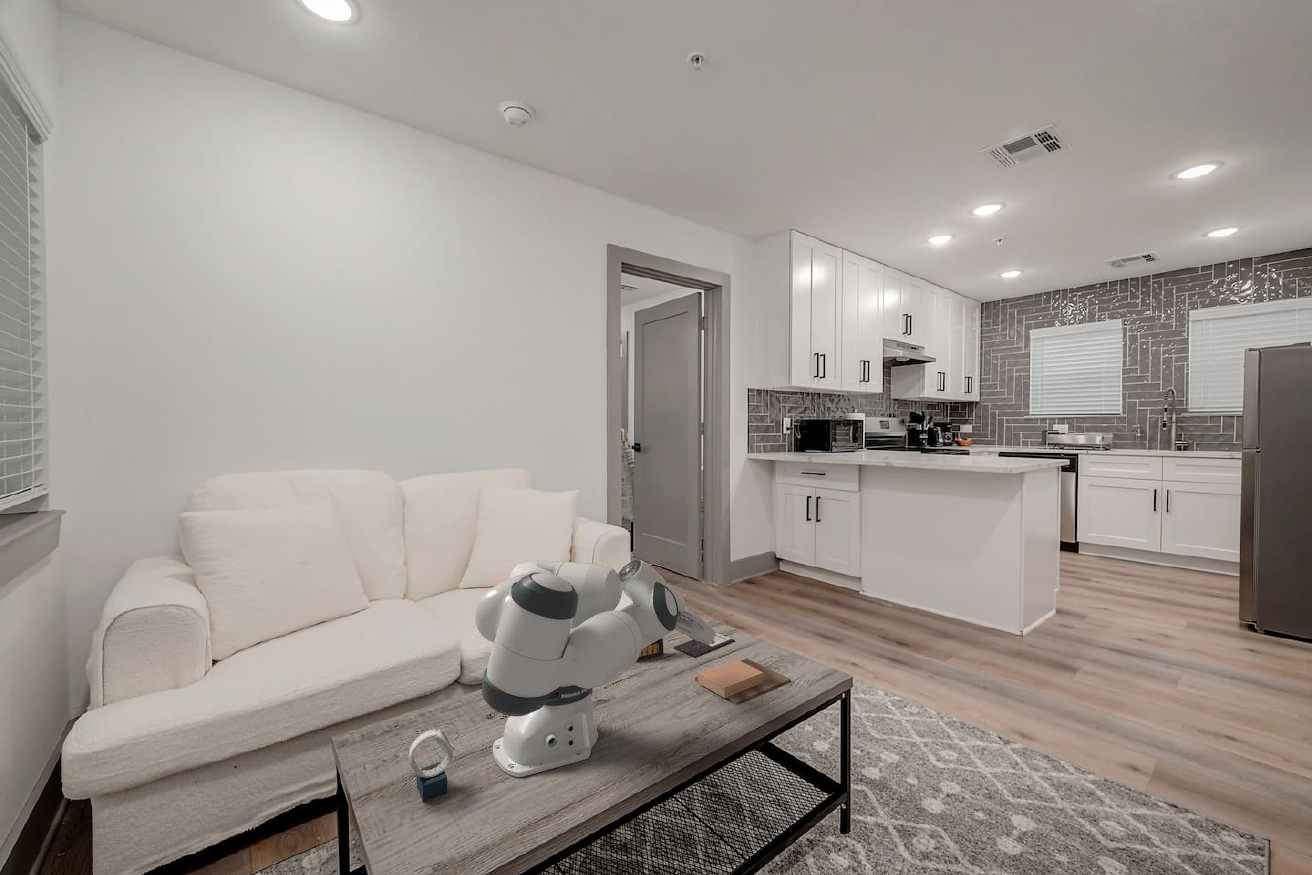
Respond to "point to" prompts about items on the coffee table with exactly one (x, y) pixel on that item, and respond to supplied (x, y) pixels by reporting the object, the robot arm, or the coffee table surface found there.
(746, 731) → the coffee table surface
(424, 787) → the watch
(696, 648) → the chocolate bar
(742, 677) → the terracotta tile
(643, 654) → the ammunition clip
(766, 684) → the walnut board
